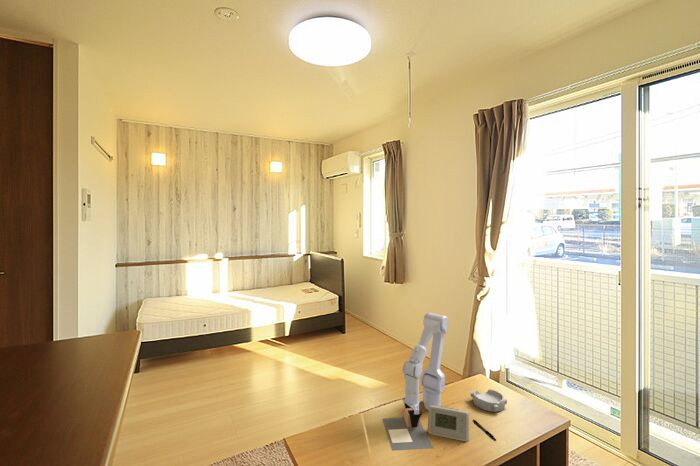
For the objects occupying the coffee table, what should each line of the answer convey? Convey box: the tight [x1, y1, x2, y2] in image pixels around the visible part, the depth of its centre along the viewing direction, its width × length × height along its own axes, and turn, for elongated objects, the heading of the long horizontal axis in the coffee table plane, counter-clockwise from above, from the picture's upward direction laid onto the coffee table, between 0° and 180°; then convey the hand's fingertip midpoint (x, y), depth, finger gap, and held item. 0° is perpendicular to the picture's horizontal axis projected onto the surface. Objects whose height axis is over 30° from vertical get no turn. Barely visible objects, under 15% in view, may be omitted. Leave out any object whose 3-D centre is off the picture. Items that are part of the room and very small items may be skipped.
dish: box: [469, 388, 508, 413], centre depth 157 cm, size 14×14×5 cm
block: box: [403, 407, 419, 427], centre depth 141 cm, size 5×5×5 cm
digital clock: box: [427, 405, 470, 442], centre depth 134 cm, size 16×9×11 cm, turn 60°
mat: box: [382, 417, 434, 451], centre depth 135 cm, size 20×16×1 cm
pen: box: [472, 419, 497, 441], centre depth 138 cm, size 14×2×1 cm, turn 16°
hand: (411, 421), depth 141 cm, fingers open, 7 cm apart
